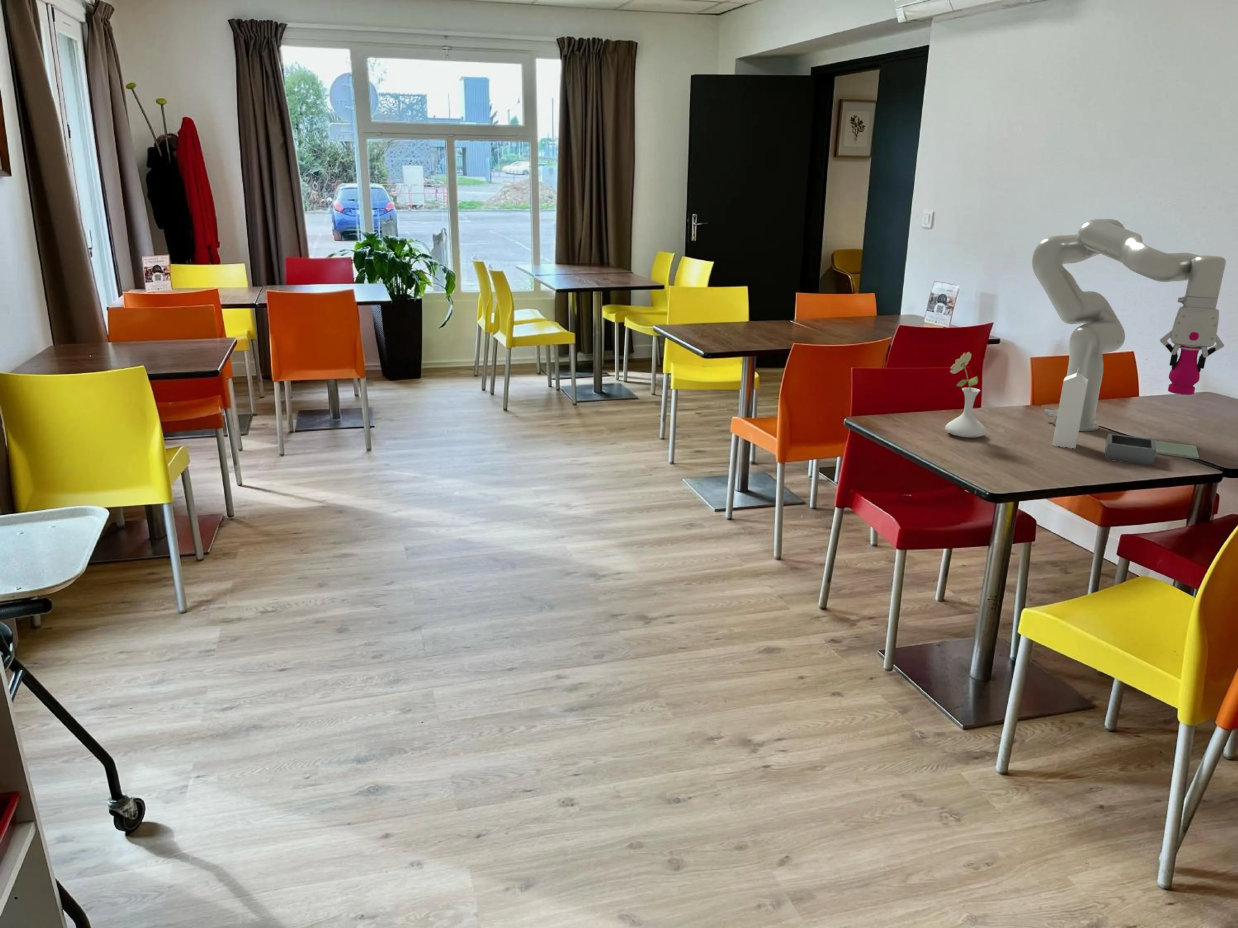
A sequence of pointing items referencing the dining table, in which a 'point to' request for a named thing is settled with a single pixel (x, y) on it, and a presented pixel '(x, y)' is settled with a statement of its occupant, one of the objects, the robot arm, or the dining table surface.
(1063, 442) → the milk
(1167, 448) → the mat
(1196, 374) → the pepper mill
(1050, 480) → the dining table surface
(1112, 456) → the grey open storage bin
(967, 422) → the flower in vase
